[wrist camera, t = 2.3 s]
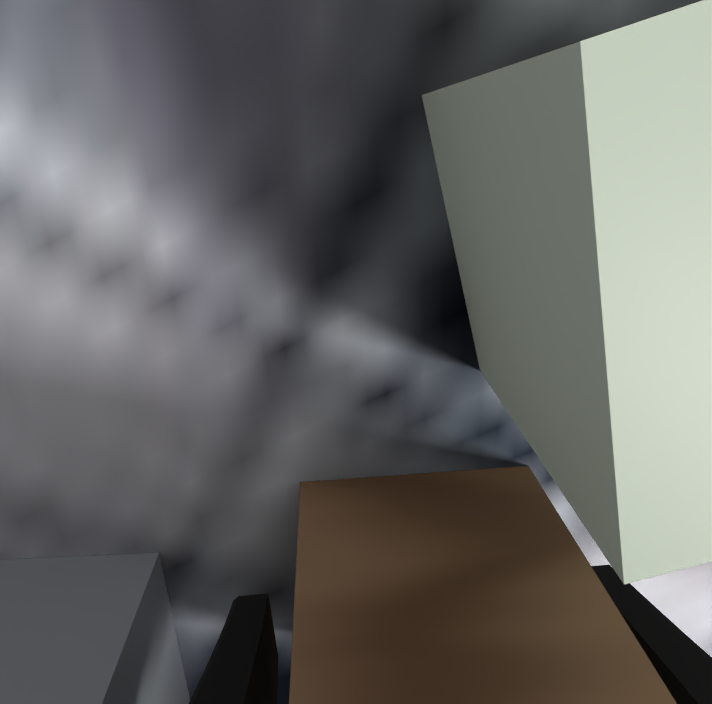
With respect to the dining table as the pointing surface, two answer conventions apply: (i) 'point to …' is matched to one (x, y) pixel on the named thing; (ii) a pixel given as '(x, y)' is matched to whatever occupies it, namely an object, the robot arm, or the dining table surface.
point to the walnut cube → (453, 598)
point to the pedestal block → (88, 632)
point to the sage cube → (597, 272)
